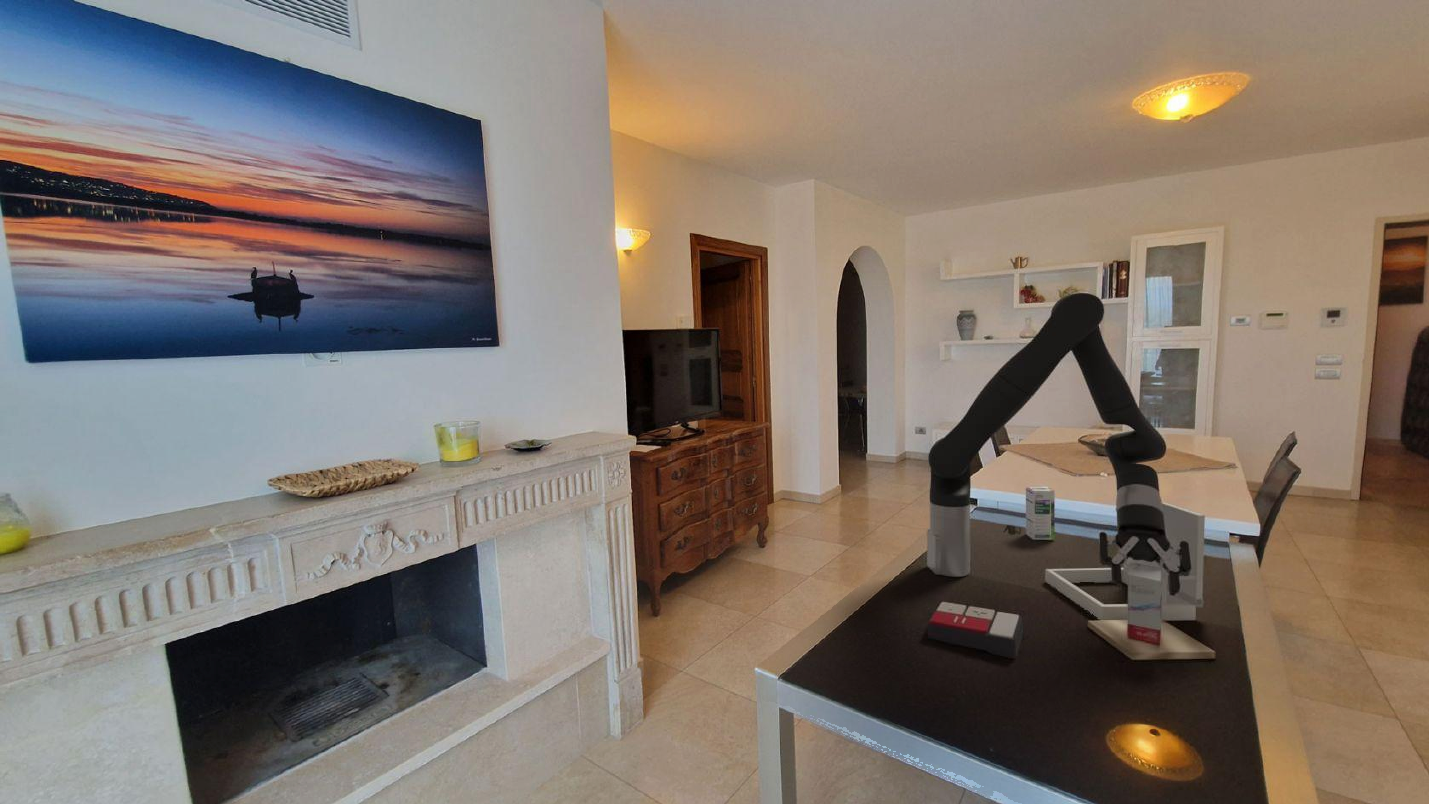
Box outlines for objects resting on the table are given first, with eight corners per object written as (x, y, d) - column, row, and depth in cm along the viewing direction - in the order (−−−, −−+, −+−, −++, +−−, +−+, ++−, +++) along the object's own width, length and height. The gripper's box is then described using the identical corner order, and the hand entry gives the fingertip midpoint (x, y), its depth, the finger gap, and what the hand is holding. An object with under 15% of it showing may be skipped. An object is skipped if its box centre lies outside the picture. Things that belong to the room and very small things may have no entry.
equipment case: (1101, 621, 110) (1103, 517, 108) (1045, 581, 130) (1046, 493, 128) (1202, 619, 109) (1205, 515, 107) (1130, 580, 129) (1132, 491, 127)
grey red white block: (939, 599, 115) (1022, 612, 106) (941, 619, 115) (1023, 634, 106) (926, 620, 106) (1014, 636, 97) (927, 642, 106) (1015, 660, 97)
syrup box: (1033, 540, 158) (1033, 490, 157) (1025, 533, 164) (1025, 485, 163) (1054, 540, 157) (1055, 490, 156) (1046, 534, 163) (1046, 485, 162)
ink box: (1160, 646, 98) (1161, 581, 97) (1126, 638, 101) (1127, 575, 100) (1161, 627, 104) (1162, 566, 103) (1128, 620, 107) (1129, 561, 106)
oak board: (1131, 659, 96) (1131, 652, 96) (1087, 626, 108) (1087, 620, 108) (1215, 658, 95) (1215, 651, 95) (1161, 625, 107) (1161, 619, 107)
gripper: (1097, 499, 113) (1099, 574, 104) (1188, 506, 105) (1199, 588, 96) (1095, 517, 117) (1097, 591, 108) (1182, 526, 110) (1192, 606, 101)
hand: (1145, 589), depth 102 cm, fingers open, 7 cm apart
